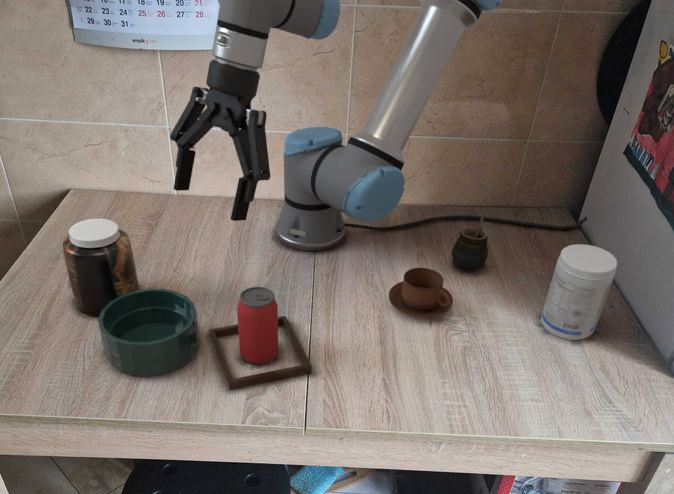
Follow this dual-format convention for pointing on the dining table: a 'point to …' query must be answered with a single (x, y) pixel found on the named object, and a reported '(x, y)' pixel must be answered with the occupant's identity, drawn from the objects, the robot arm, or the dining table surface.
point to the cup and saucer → (421, 294)
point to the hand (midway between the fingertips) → (208, 204)
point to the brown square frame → (266, 376)
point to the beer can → (258, 325)
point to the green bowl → (149, 331)
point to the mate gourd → (471, 248)
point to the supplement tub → (578, 291)
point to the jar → (99, 264)
